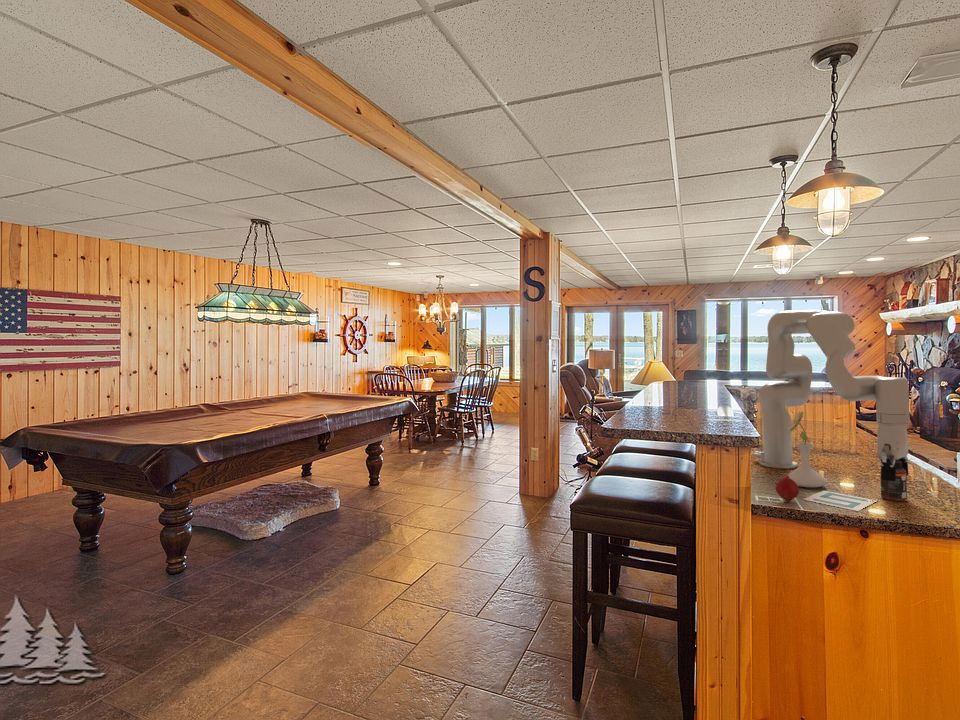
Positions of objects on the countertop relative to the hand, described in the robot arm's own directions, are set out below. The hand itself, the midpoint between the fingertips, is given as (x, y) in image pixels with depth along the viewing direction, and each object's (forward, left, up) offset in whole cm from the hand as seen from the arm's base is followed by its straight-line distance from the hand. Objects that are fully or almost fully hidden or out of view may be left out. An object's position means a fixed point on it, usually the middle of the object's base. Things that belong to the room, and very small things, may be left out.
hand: (895, 477), depth 146 cm
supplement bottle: (0, 0, -7) cm, 7 cm away
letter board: (-9, -13, -7) cm, 17 cm away
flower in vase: (-22, -4, -7) cm, 24 cm away
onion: (-18, -25, -7) cm, 32 cm away
